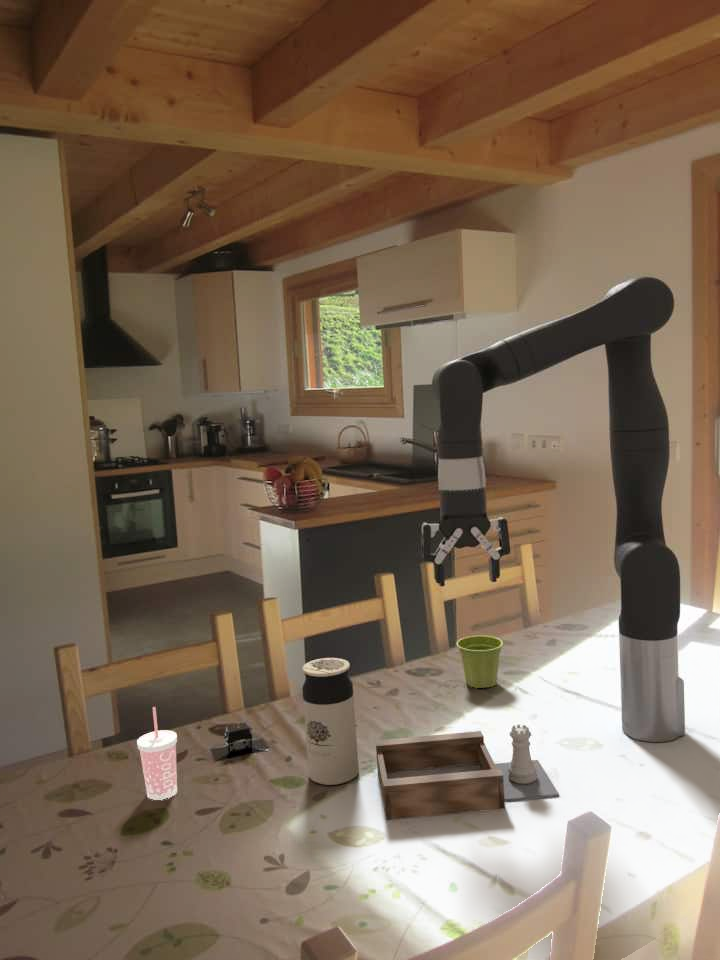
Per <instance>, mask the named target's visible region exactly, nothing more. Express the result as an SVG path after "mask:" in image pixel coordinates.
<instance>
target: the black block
mask: <svg viewBox="0 0 720 960" xmlns="http://www.w3.org/2000/svg"><path fill="white" fill-rule="evenodd" d="M223 738H224V739H225V745H221V746H216V747H212V748H209V750H210V752H211V755H212V760H214V762H215V763H216V762H220V761H226V760H230V759H233V758H239V757H243V756H248V755H253V754H256V753H261V752H265V751H269V750H270V749H269V747H268V745H267V743H266V742H265V741H264V739H263V738H262V737H259V738H254V735H253V733H252V731H251V730H250V727H249V725H248V723H247V722H241V723H238V724H237V727H236V725H235V724H231V725H226V726H225V731H224V735H223ZM253 738H254V739H253ZM242 740H243V741H242ZM238 741H239V742H238Z"/></svg>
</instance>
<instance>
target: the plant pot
mask: <svg viewBox="0 0 720 960" xmlns="http://www.w3.org/2000/svg"><path fill="white" fill-rule="evenodd" d="M503 646H504V642H503V640H502V639H501V638H498V637H496V636H490V635H471V636H466V637H462V638H460V639H458V640H457V641H456V647H457V648H458V651H459V654H460V655H461V661H462V666H463V672H464V677H465V684H467V685H469V686H468V687H470V686H471V687H470V688H472V687H474V688H473V689H477V688H483V689H484V688H489V687H491V688H493V687H495V686H496V685H497V682H498V681H497V680H498V673H499V672H498V670H499V669H498V668H499V661H500V653H501V651H502V647H503ZM495 684H496V685H495ZM494 685H495V686H494ZM492 686H493V687H492Z"/></svg>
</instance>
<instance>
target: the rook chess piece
mask: <svg viewBox="0 0 720 960" xmlns="http://www.w3.org/2000/svg"><path fill="white" fill-rule="evenodd" d="M509 736H510V737H511V739H512V741H511V743H510V744H511V745H512V756H511V757H512V758H511V760H510V761H509V762H510V763H511V764H510V765H509V767H508V771H509V773H508V777H509V779H510V780H511V781H512V782H514V783H516V784H522V785H524V784H530V783H533V782H534V781H535V780H536V779H537V774H536V771H537V769H536V767H535V765H534V764H533V761H532V760H533V759H532V757H531V753H530V745H531V742H530V741H529V739H530V738H531V736H532V733H531V732H530V727H529V726H527V725H525V724H522V727H521V724H516V725H513V726H512V727H511V731H510V732H509Z"/></svg>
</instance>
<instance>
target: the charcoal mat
mask: <svg viewBox="0 0 720 960" xmlns="http://www.w3.org/2000/svg"><path fill="white" fill-rule="evenodd" d="M531 760H532V761H533V764H534V765H535V767H536V769H537V771H536V774H537V779H536V780H535V781H534V782H533V783H530V784H524V785H522V784H516V783H514V782H512V781H511V780H510V779H509V777H508V773H509V771H508V767H509V765H510V764H511V763H510V762H511V761H509V762H499V763H494V764H495V766H496V768H497V769H500V770H501V772H502V774H503V780H504V800H505V802H510V801H513V802H514V801H523V800H533V799H534V800H535V799H541V798H542V799H545V798H552V797H553V798H554V797H560V793H559V791H558V790H557V788H556V786H555V785H554V784H553V782H552V780H551V779H550V777H549V776H548V773H547V772H546V771H545V768H544V767H543V766H542V764H541V763H540V760H538V759H531Z"/></svg>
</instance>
